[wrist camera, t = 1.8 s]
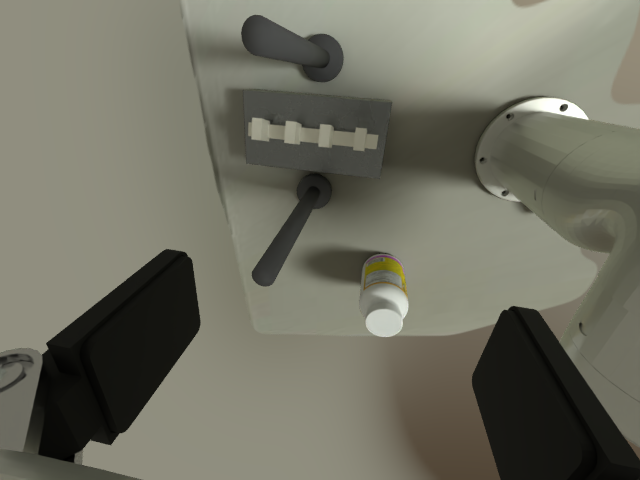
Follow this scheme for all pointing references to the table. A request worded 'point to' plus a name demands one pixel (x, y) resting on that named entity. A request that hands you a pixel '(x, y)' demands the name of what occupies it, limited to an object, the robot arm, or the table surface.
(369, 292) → the supplement bottle
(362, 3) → the table surface
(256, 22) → the cable upright
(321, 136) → the breaker paddles
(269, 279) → the cable upright
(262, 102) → the breaker panel
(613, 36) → the table surface
